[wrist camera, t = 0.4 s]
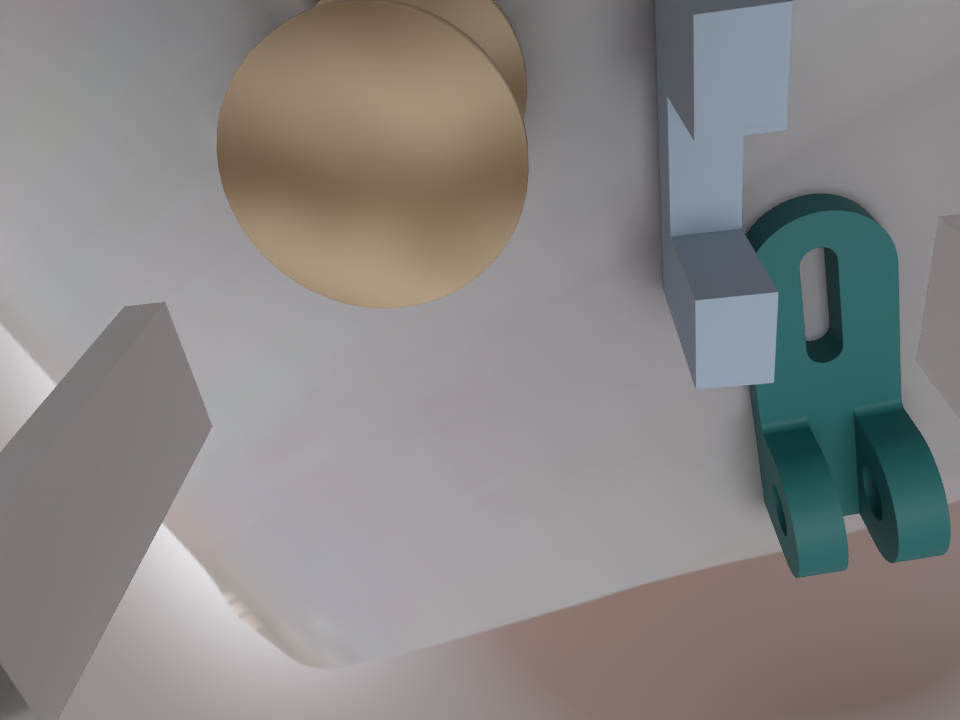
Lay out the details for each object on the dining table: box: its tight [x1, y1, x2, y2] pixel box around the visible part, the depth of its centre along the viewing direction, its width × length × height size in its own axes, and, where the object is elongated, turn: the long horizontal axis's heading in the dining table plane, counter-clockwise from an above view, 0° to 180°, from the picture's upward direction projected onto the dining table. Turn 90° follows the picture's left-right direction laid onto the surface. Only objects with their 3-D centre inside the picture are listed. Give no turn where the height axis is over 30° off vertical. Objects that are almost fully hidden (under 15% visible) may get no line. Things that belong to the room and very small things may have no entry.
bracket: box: [746, 194, 950, 578], centre depth 39 cm, size 18×7×8 cm, turn 15°
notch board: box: [655, 0, 793, 390], centre depth 33 cm, size 14×3×9 cm, turn 8°
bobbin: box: [217, 0, 529, 308], centre depth 31 cm, size 10×10×11 cm
